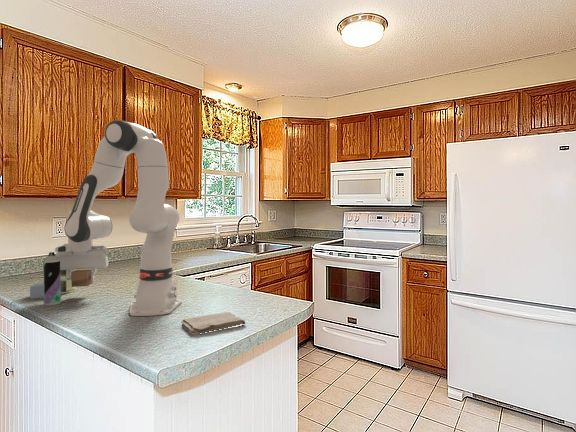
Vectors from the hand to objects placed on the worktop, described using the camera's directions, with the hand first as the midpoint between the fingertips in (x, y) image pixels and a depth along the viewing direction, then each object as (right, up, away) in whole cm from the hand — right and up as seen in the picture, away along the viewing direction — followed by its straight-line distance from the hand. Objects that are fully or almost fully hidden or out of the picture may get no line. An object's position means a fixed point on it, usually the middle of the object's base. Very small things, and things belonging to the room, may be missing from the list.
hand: (82, 279), depth 151 cm
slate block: (-18, -7, 0) cm, 20 cm away
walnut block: (0, -2, 0) cm, 2 cm away
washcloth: (+61, -10, -33) cm, 70 cm away
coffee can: (-14, -7, +9) cm, 18 cm away
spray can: (-6, -8, -10) cm, 14 cm away
